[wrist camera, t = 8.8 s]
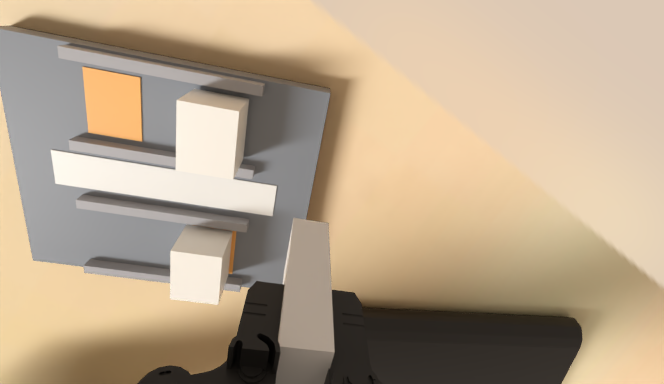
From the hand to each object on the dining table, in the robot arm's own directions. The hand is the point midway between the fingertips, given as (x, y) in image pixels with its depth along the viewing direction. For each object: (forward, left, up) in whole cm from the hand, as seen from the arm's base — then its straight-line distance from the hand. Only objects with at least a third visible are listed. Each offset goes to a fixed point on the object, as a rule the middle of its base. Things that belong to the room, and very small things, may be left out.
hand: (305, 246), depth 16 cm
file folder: (-29, -18, -18) cm, 39 cm away
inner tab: (-12, +7, -15) cm, 21 cm away
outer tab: (0, +7, -15) cm, 16 cm away
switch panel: (-6, +11, -17) cm, 21 cm away
